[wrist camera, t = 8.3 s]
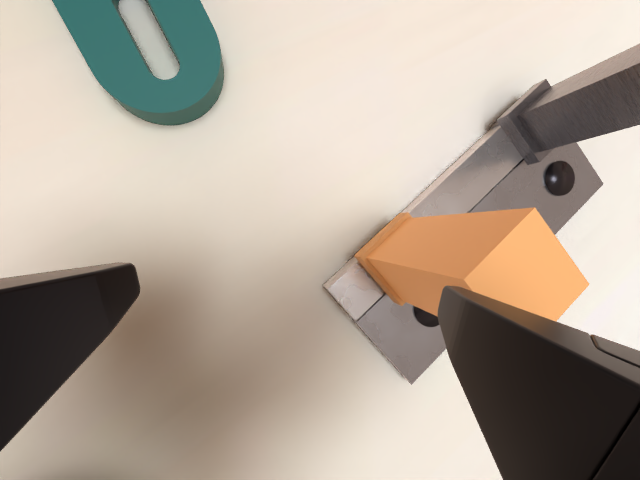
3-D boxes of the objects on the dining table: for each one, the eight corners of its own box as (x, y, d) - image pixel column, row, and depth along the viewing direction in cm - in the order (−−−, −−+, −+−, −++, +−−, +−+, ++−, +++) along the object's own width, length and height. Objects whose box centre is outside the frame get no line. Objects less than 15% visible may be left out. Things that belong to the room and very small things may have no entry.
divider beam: (354, 320, 22) (471, 423, 10) (316, 278, 21) (396, 336, 10) (552, 128, 25) (819, 37, 13) (524, 86, 24) (778, -49, 13)
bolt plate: (404, 378, 23) (412, 385, 22) (351, 318, 22) (357, 323, 21) (590, 185, 26) (605, 183, 25) (550, 126, 25) (564, 121, 24)
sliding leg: (391, 301, 21) (523, 366, 11) (352, 255, 20) (453, 279, 10) (434, 259, 21) (597, 284, 11) (397, 213, 21) (535, 196, 11)
